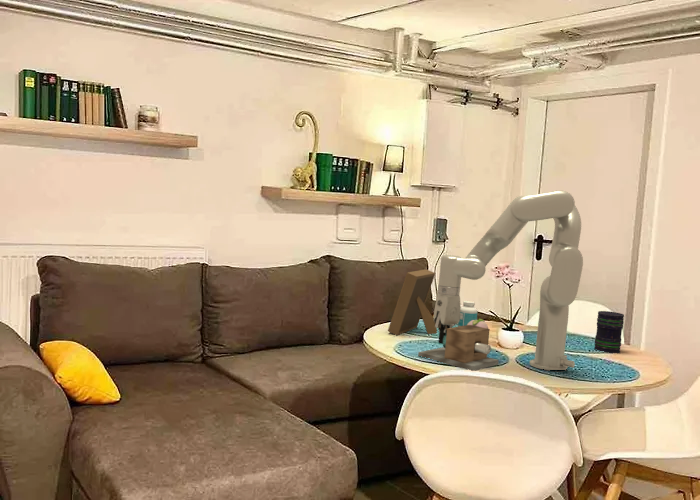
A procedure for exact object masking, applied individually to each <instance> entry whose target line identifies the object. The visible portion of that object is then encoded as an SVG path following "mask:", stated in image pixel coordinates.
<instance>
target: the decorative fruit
mask: <svg viewBox="0 0 700 500" xmlns="http://www.w3.org/2000/svg"><path fill="white" fill-rule="evenodd" d="M467 325H473V326H478V327H482V328H487V329H489V326H488V324H487V322H485V320H484V319H482V318H480V317H478V316H477V320H472V321H470V322H469V323H468V324H467Z"/></svg>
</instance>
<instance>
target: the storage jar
mask: <svg viewBox="0 0 700 500" xmlns="http://www.w3.org/2000/svg"><path fill="white" fill-rule="evenodd" d="M624 318H625V314H623V313H621V312H615V311H607V310H599V311H597V318H596V326H597V327H596V333H595V337H594V338H595V339H594V348H595V349H597V350H600V351H604V352H609V353H608V354H613V353H617V354H620V353H621V346H622V331H623V329H624V322H625V321H624ZM595 349H594V350H595ZM597 350H596V351H597ZM600 351H599V352H600ZM604 352H603V353H604Z"/></svg>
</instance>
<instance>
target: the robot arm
mask: <svg viewBox="0 0 700 500" xmlns="http://www.w3.org/2000/svg"><path fill="white" fill-rule="evenodd" d="M575 203H576V201H575V198H574V196H573V195H572V193H570V192H568V191H566V190H552V191H551V192H546V193H545V192H544V193H539V194H531V195H520V196H519V195H518V197H517V196H516V198H513V200H512V201H511V202H510V204H509V205H508V206H507V207H506V208H505V209H504V211H502V213H501V215H500V216H499V217H498V218H497V219H496V220H495V222H494V223H493V224H492V225H491V226H490V228H489V229H488V230H487V231H486V233H484V235H482V238H480V240H479V241H478V242H477V243H476V244H475V245H474V247H472V249H471V250H470V252H468V254H467V256H465V257H461V256H459V255H453V254H452V255H451V254H444V255H442V256H441V258H440V265H439V276H438V283H437V284H438V285H437V286H438V287H437V296H436V298H435V303H434V305H435V306H434V311H433V318H434V322H435V323H436V324H435V327H436V328H437V329H438V332H439V334H438V341H437V342H438V343H439V344H441V345H443V338H444V335H445V334H446V333H447V328H453V327H456V324H457V325H458V323H459V321H460V307H461V282H462V278H464V279H467V280H472V281H476V280H480V279H481V278H483V277H484V276H485V273H486V270H487V267H486V266H488V264H489V263H490V262H491V260H492V259H493V258H494V257H495V256H496V255H497V254H498V253H499V252H501V251H502V250H504V249H505V248H508V246H509V245H511V243H512V242H513V241H514V240H515V238H516V237H517V236H518V235H519V233H520V232H521V231H522V230H523V228H525V227H526V225H527V224H528V222H536V221H537V222H538V221H543V220H549V219H553V220H554V231H553V238H552V242H551V246H550V251H549V255H548V262H549V264H550V266H551V271H550V274H549V275H548V276H547V277H546V278H545V279H544V280H543V281H542V283H541V284H540V291H539V313H538V322H537V332H536V341H535V343H536V344H535V351H534V359H530V360H529V365H530V366H531V367H534V368H537V369H540V370H543V369H544V371H550V370H565V371H567V370H568V369H567V368H571V369H572V368H575V365H576V364H575V361H574V360H569V359H568V355H566V354H565V352H566V342H567V341H566V340H567V331H568V323H569V309H570V308H569V307H570V305H571V304H573V302H574V301H575V300H576V298H577V295H578V291H579V287H580V282H581V277H582V271H583V266H584V257H583V254H582V253H581V250H579V244H580V240H581V239H580V238H581V233H582V232H581V231H582V218H581V215H580V212H579V210H578V208H577V207H576V205H575ZM566 369H567V370H566Z"/></svg>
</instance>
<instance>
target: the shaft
mask: <svg viewBox="0 0 700 500" xmlns="http://www.w3.org/2000/svg"><path fill="white" fill-rule="evenodd" d="M446 336H447V333H446V334H445V335H444V338H443V344H442V346H443V347H444V348H445V347H446ZM491 350H492V348H491V345H489V344H488V345H486V344H481V343H477V342H475V346H474V351H476V352H480V353H484V354H487V355H489V354H490V353H491Z"/></svg>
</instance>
